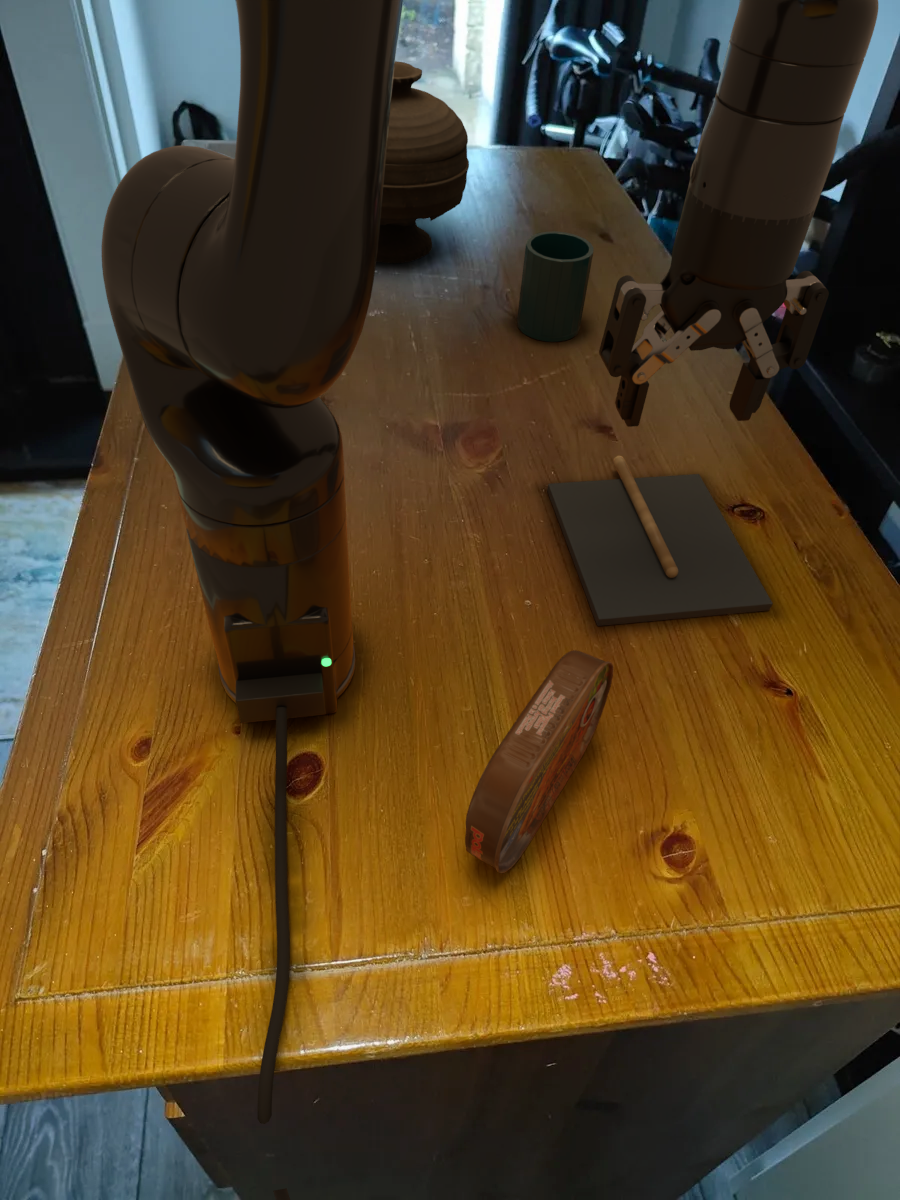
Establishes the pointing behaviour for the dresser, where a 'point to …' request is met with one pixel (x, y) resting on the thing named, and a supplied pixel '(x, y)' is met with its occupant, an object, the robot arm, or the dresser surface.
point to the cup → (554, 285)
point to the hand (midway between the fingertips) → (684, 417)
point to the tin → (536, 759)
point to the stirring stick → (646, 518)
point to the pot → (418, 167)
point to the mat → (630, 564)
